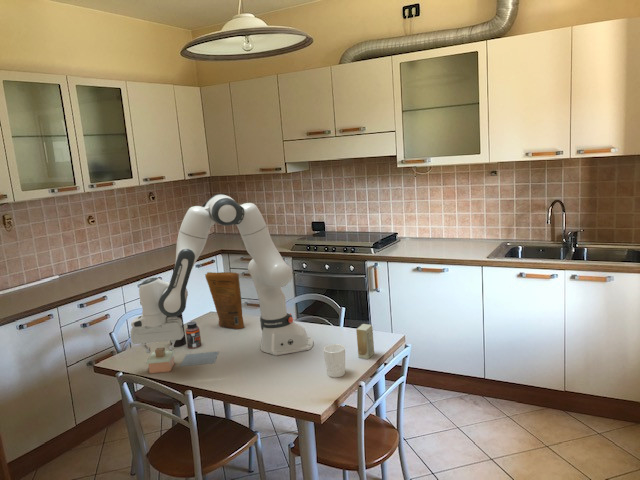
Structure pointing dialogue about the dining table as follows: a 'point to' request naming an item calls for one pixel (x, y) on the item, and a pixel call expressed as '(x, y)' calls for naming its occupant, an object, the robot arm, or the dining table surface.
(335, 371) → the white cup
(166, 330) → the robot arm
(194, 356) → the mat
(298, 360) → the dining table surface
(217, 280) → the pancake mix bag
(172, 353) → the lid
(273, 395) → the dining table surface
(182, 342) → the vinegar
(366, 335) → the skincare box
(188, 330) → the supplement bottle
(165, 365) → the peach storage bin
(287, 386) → the dining table surface
